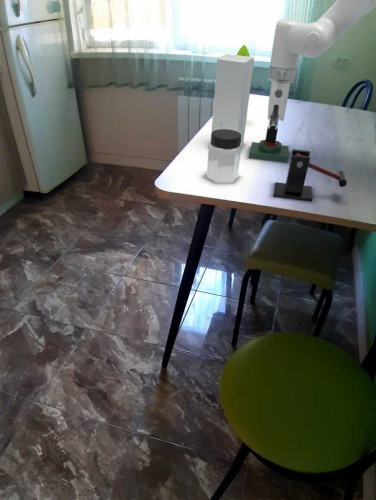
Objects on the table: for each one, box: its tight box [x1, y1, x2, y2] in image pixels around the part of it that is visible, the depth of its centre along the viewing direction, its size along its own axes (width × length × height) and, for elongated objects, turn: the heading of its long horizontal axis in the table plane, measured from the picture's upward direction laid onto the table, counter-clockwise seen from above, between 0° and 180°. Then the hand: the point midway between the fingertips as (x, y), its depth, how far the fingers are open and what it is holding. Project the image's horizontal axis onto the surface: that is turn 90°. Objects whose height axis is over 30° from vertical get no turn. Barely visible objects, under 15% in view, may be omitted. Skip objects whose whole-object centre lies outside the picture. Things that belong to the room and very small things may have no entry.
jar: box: [206, 129, 243, 184], centre depth 113 cm, size 9×8×12 cm
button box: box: [248, 139, 290, 164], centre depth 130 cm, size 12×10×4 cm
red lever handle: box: [296, 153, 348, 188], centre depth 106 cm, size 14×6×2 cm, turn 79°
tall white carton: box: [210, 53, 255, 146], centre depth 128 cm, size 9×9×25 cm
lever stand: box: [272, 148, 313, 202], centre depth 108 cm, size 10×8×11 cm
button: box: [264, 141, 277, 146], centre depth 129 cm, size 4×4×2 cm
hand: (270, 141), depth 129 cm, fingers closed
